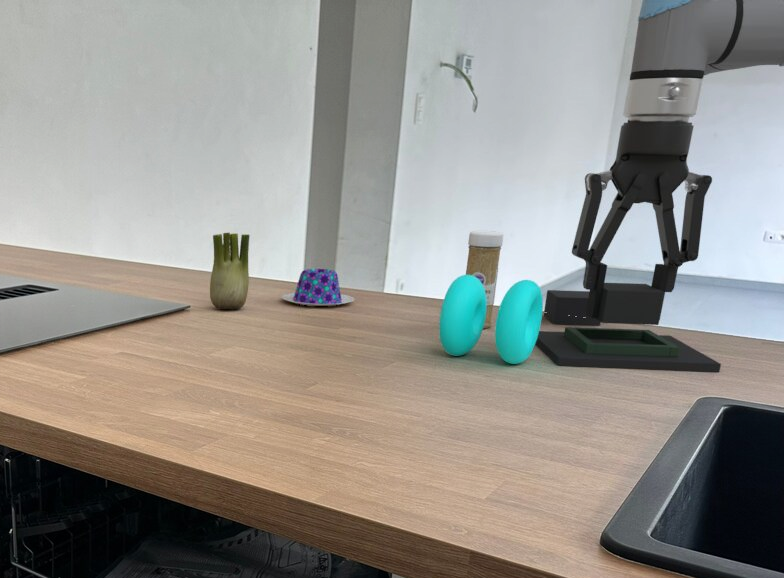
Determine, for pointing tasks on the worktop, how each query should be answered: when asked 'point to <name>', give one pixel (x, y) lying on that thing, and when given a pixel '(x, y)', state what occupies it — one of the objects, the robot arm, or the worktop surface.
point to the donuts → (512, 325)
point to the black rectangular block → (630, 304)
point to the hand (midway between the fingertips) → (622, 316)
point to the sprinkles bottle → (485, 264)
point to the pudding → (318, 289)
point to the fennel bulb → (229, 271)
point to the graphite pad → (568, 308)
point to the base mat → (622, 350)
